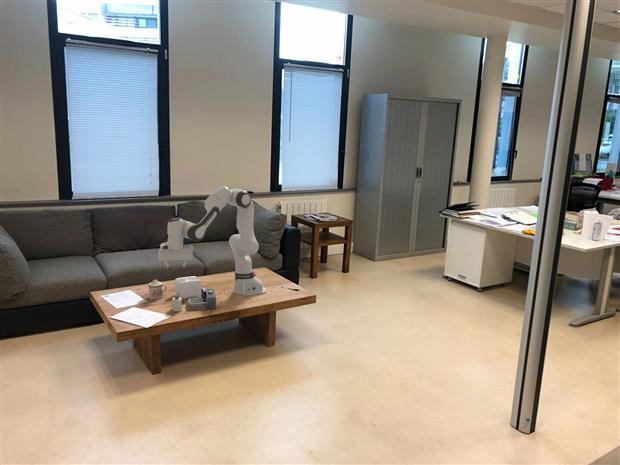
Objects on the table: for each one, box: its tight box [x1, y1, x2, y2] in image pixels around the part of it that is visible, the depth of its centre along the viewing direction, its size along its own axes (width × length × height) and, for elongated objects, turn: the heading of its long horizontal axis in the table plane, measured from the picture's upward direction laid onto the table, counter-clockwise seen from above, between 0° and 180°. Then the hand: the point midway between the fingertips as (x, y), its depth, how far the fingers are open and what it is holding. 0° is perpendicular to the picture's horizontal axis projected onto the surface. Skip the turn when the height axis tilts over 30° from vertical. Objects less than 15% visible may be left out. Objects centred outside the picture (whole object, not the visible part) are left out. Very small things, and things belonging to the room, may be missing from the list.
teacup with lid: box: [147, 279, 167, 300], centre depth 318 cm, size 12×9×12 cm
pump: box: [172, 294, 183, 312], centre depth 298 cm, size 5×5×9 cm
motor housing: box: [187, 288, 217, 311], centre depth 306 cm, size 16×16×9 cm
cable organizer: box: [174, 275, 202, 300], centre depth 322 cm, size 15×11×12 cm
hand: (176, 267), depth 293 cm, fingers open, 8 cm apart
